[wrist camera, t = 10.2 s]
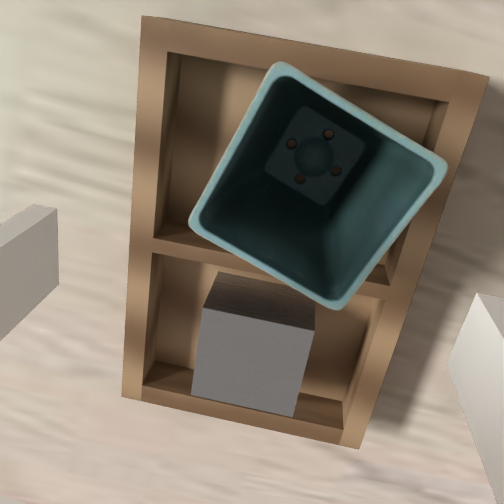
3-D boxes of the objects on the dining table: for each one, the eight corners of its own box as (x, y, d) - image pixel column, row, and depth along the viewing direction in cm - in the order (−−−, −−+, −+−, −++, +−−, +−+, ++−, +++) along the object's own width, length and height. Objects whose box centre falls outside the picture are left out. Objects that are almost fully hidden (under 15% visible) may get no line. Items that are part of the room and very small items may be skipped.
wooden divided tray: (164, 17, 29) (141, 15, 25) (467, 71, 28) (489, 77, 24) (139, 363, 40) (121, 396, 36) (355, 410, 39) (359, 449, 35)
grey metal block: (218, 271, 34) (202, 307, 30) (315, 291, 34) (314, 331, 29) (206, 350, 37) (190, 394, 32) (296, 370, 37) (292, 417, 32)
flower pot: (289, 49, 28) (275, 55, 19) (417, 128, 28) (455, 166, 20) (219, 177, 31) (183, 227, 23) (335, 244, 32) (339, 315, 24)
